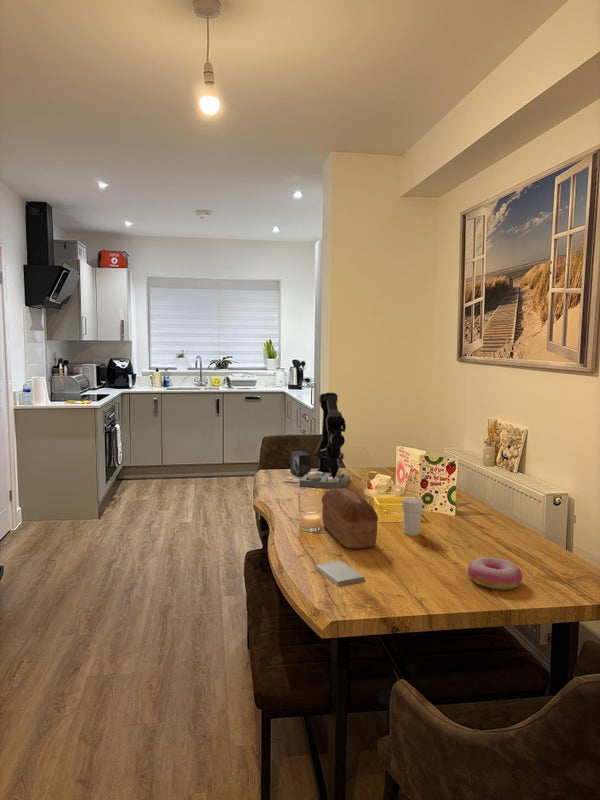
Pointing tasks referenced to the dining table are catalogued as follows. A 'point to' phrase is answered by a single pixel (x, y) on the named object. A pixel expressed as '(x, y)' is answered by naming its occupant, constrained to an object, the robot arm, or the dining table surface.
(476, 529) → the dining table surface
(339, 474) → the button
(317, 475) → the button
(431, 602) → the dining table surface
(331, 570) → the hard drive
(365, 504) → the bread
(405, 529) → the cup
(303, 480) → the board
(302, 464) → the small box
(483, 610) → the dining table surface
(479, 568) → the donut
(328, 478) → the button
